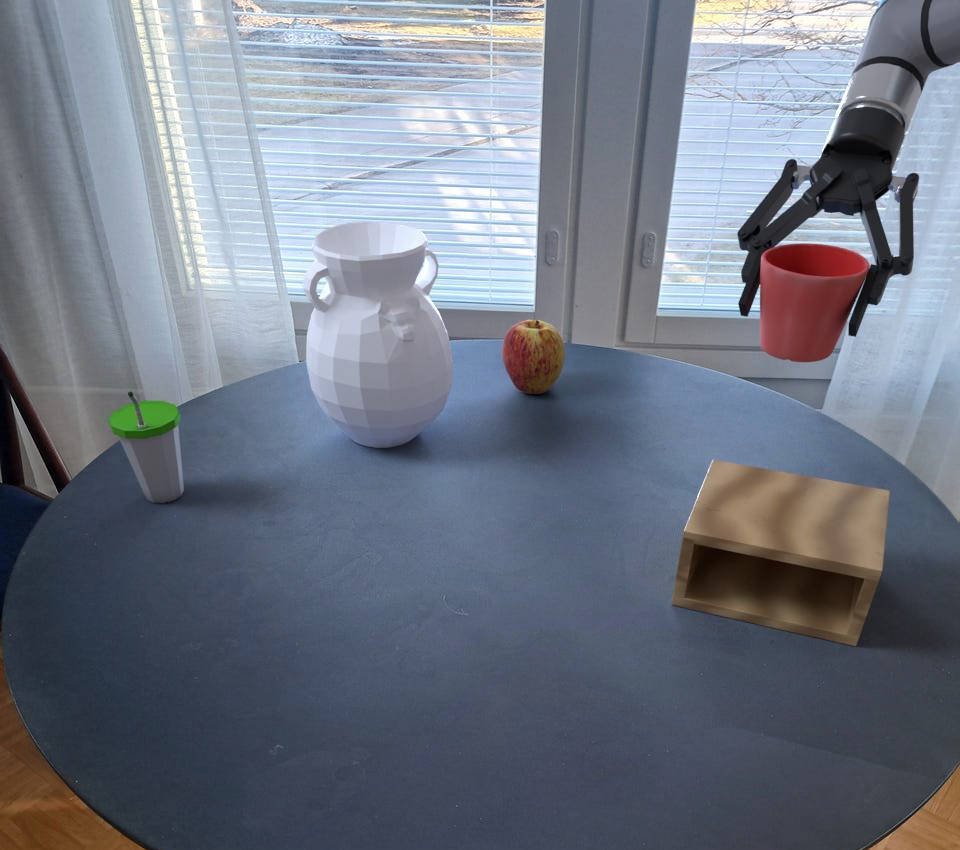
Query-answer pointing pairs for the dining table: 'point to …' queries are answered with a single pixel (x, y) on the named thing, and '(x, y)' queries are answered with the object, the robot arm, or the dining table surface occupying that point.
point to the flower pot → (807, 298)
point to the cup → (152, 446)
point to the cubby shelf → (783, 551)
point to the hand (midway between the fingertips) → (796, 320)
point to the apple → (533, 356)
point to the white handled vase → (376, 333)
